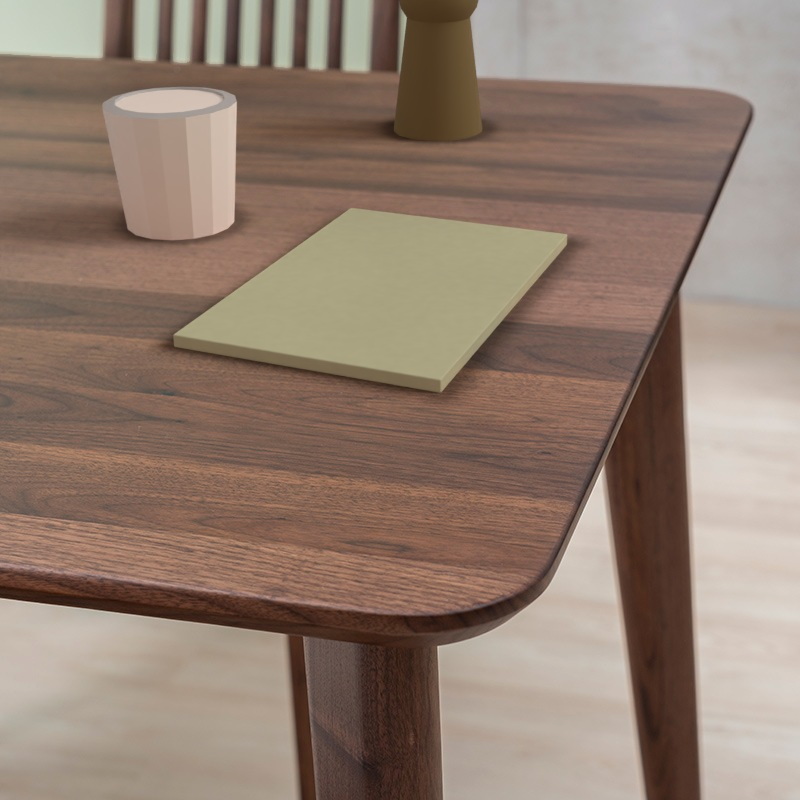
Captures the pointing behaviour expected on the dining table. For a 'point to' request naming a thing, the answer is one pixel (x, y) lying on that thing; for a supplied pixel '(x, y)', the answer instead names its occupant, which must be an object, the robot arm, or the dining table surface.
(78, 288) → the dining table surface
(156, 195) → the pale pink cup
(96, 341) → the dining table surface
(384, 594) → the dining table surface
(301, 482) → the dining table surface
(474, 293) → the mat
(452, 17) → the cork
